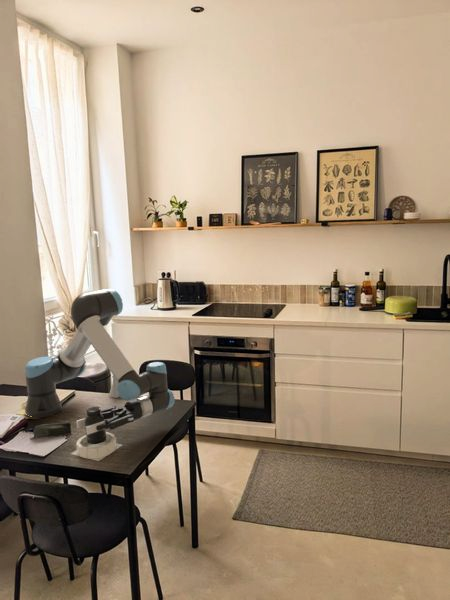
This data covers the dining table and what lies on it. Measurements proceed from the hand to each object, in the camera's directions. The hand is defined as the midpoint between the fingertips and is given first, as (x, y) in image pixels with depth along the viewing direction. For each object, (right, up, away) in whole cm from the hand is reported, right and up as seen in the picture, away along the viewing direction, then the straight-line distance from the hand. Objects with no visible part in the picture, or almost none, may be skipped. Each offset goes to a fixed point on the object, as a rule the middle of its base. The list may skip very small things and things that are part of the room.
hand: (82, 427), depth 165 cm
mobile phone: (-18, -9, +18) cm, 27 cm away
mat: (+4, -10, +5) cm, 12 cm away
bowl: (+4, -9, +5) cm, 11 cm away
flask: (-1, -1, +60) cm, 60 cm away
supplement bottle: (+4, -6, +4) cm, 8 cm away
